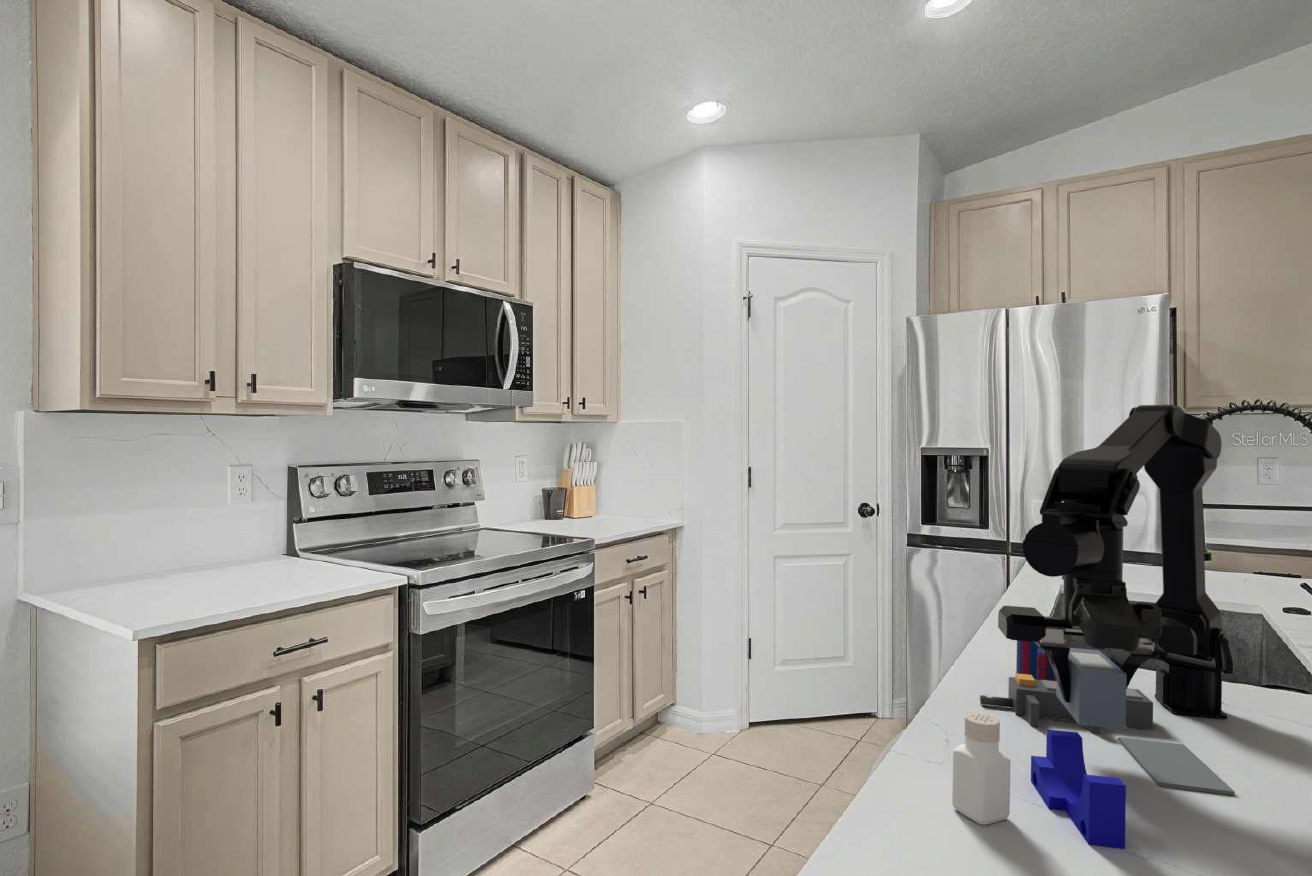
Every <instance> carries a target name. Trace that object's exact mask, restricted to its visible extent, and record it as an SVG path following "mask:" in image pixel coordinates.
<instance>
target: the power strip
mask: <svg viewBox="0 0 1312 876" xmlns="http://www.w3.org/2000/svg"><path fill="white" fill-rule="evenodd" d="M1014 675H1015V676H1014V677H1013V676H1009V677H1008V692H1007V693H1008V697H1001V696H992V695H980V696H979V702H980V705H985V706H992V707H993V706H995V707H1003V708H1004V707H1005V708H1011V709H1012V710H1013V712H1014V714H1015V715H1016V716H1024V718H1025V719H1026V721H1027V722H1028V724H1029V726H1030V727H1037V728H1039V727H1040V718H1041V719H1051V720H1060V721H1070V722H1076V720H1075V719H1074V718H1073V716H1072V715H1071V714H1070V713H1069V711H1068V710H1067V709H1066V708H1065V706H1064V705H1063V704H1062V703H1061V701H1060V700H1059V699H1058V697H1057V696H1056V684H1057V681H1048V680H1036V679H1034V678H1033V677H1032V675H1027V674H1017V673H1016V672H1015V673H1014ZM1153 724H1154V702H1153V701H1152V700H1151V699H1150V698H1149V697H1148V696H1147V695H1145V694H1144V693H1143V692H1142V691H1141V690H1140V689H1138V688H1130V687H1129V688H1128V687H1127V689H1126V728H1133V729H1142V730H1150V731H1151V730H1154V728H1153V727H1154V725H1153ZM1085 727H1086V728H1087V729H1088V731H1090V733H1091V734H1099V735H1101V727H1097V726H1088V725H1085Z"/></svg>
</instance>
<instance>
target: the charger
mask: <svg viewBox="0 0 1312 876" xmlns="http://www.w3.org/2000/svg"><path fill="white" fill-rule="evenodd" d="M1069 648H1070V652H1069V656H1068V665H1069V677H1070V688H1071V692H1070V702H1069V703H1067V702H1065V701H1064V699H1063V696H1062V693H1061V691H1060V688H1059V685H1058V682H1057V684H1056V696H1057V697H1058V699H1059V700H1060V701H1061V703H1062V704H1063V705H1064V706H1065V708H1066V709H1067V710H1068V711H1069V713H1070V714H1071V715H1072V716H1073V718H1074V719H1075V720H1076V721H1075V722H1076V724H1078V725H1079V726H1086V725H1088V726H1097V727H1100V728H1107V729H1117V730H1126V728H1127V727H1126V678H1127V674H1126V673H1125V672H1123V671H1122V670H1121V669H1120V668H1119V667H1118V666H1116V665H1115V664H1114V663H1113V662H1112V661H1111V658H1110V659H1109V658H1108V657H1107V656H1106V655H1105V654H1104V653H1103V652H1101V651H1100V649H1098V650H1097V649H1090V648H1089V649H1087V648H1078V647H1077V648H1076V647H1069Z"/></svg>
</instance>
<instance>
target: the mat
mask: <svg viewBox="0 0 1312 876" xmlns="http://www.w3.org/2000/svg"><path fill="white" fill-rule="evenodd" d="M1117 740H1118V742H1119V743H1120V744H1121V745H1122V746H1123V747H1124V748H1125V749H1124V750H1125V751H1127V752H1128V753H1129V755H1130V756H1131V757H1132V758H1133V760H1135V761H1136V763H1137V764H1138V765H1139V766H1140V767H1141V768H1142V769H1143V771H1144V772H1145V773H1146V774H1147V775H1148V776H1149V777H1150V778H1151V780H1153V782H1154V783H1155V784H1156V785H1157V786H1158V787H1165V788H1166V787H1167V788H1173V789H1181V790H1187V791H1188V790H1190V791H1196V792H1203V793H1211V794H1220V795H1228V796H1229V795H1230V796H1235V793H1236V792H1235V790H1234V789H1232V788H1231V787H1230V785H1228V784H1227V783H1226V782H1225V781H1224V780H1223V779H1221V777H1220V776H1218V774H1217V773H1215V772H1214V771H1213V770H1212V769H1211V768H1210V767H1209V766H1208V765H1207V764H1206V763H1204V762H1203V761H1202V760H1201V759H1200V758H1199V757H1198V756H1197V755H1196V754H1195V753H1194V752H1193V751H1192V750H1190V749H1189V748H1188V747H1187V746H1186V745H1185V744H1184V743H1176V742H1175V743H1174V742H1169V741H1168V742H1166V741H1159V740H1148V739H1140V738H1131V737H1121V736H1118V737H1117Z"/></svg>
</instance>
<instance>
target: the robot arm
mask: <svg viewBox="0 0 1312 876" xmlns="http://www.w3.org/2000/svg"><path fill="white" fill-rule="evenodd" d="M1221 438H1222V437H1221V434H1220V433H1219V431H1218V430H1217V429H1216V428H1215V427H1214V426H1213V424H1212V423H1211V422H1210V421H1208V420H1205V419H1203V418H1200V417H1198V416H1196V415H1195V416H1194V415H1191V414H1190V413H1187V412H1185V411H1184V410H1183V409H1182V407H1180V406H1176V405H1173V404H1145V405H1144V404H1140V405H1138V406H1137V407H1136V406H1134V407H1132V408H1131V410H1130V411H1129V414H1128V417H1127V418H1126V419H1125V420H1124V421H1123V422H1122V423H1121V424H1120V425H1119V426H1118V427H1117V428H1116V429H1115V430H1114V431H1113V432H1112V433H1111V434H1109V435H1108V436H1107V437H1106V438H1105V440H1103V442H1101V443H1100V444H1099V445H1098V446H1096V447H1094V448H1090V449H1085V450H1080V451H1076V452H1074V453H1072V454H1070V455H1068V456H1067V457H1065V458H1063V459H1062V460H1061V462H1060V463H1059V464H1058V466H1057V467H1056V468H1055V470H1054V472H1053V474H1052V478H1051V480H1050V483H1049V484H1048V487H1047V490H1046V493H1045V496H1044V498H1043V501H1042V504H1041V506H1040V509H1039V514H1040V516H1041V523H1037V524H1036V525H1033V526H1032V528H1030V529H1029V530H1028V531H1027V533H1026V534H1025V537H1024V540H1023V541H1022V554H1023V556H1024V558H1025V561H1026V562H1027V564H1028V565H1029V566H1030V567H1031V568H1032V569H1033V570H1034V571H1036V572H1037V573H1039V574H1041V575H1043V576H1046V577H1051V578H1053V577H1061V580H1063V600H1062V601H1063V604H1061V606H1060V607H1061V612H1060V613H1061V614H1062V617H1057V616H1055V617H1054V616H1044V615H1043V614H1042V613H1041V612H1039V610H1038V609H1037V608H1036V607H1029V606H1017V605H1003V606H1001V608H1000V609H999V610H998V613H997V614H998V615H997V616H998V617H997V628H998V629H999V630H1000V632H1001V633H1002V634H1003V636H1004V637H1005V638H1006V639H1008V640H1011V641H1017V640H1018V641H1030V642H1035V643H1036V645H1037V646H1038V647H1039V648H1041V649H1044V650H1045V652H1046V654H1047V656H1048V658H1049V661H1050V663H1051V666H1052V668H1053V671H1054V674H1055V677H1056V680H1057V682H1058V685H1059V688H1060V691H1061V693H1062V696H1063V699H1064V701H1065V702H1067V703H1069V702H1070V692H1071V688H1070V677H1069V665H1068V656H1069V652H1070V648H1071V647H1069V646H1068V645H1066V644H1065V643H1064V639H1065V635H1066V636H1077V637H1084V640H1085V643H1086V644H1087V646H1090V647H1091V648H1094V649H1095V650H1097V649H1098V650H1105V649H1111V650H1110V651H1111V653H1110V660H1111V661H1112V662H1113V663H1114V664H1115V665H1116V666H1118V667H1119V668H1120V669H1121V670H1122V671H1123V672H1125V673H1126V674H1127V678H1126V689H1127V688H1128V687H1129V686H1130V682H1131V681H1132V679H1133V677H1134V676H1135V674H1136V672H1137V671H1138V669H1139V668H1140V666H1141V665H1143V664H1144V663H1146V662H1147V661H1148V660H1157V661H1160V663H1159V664H1160V668H1157V669H1156V670H1155V694H1154V699H1156V700H1157V701H1158V702H1159V703H1161V704H1162V705H1163V706H1164V707H1165V708H1166V709H1167V710H1169V711H1170V712H1171V713H1173V714H1179V715H1189V716H1198V717H1208V718H1217V719H1220V718H1221V719H1228V718H1229V716H1228V714H1227V713H1226V712H1225V711H1224V710H1222V705H1223V703H1222V701H1223V700H1222V699H1223V698H1222V697H1223V694H1222V693H1223V675H1225V674H1227V675H1235V668H1236V666H1235V664H1236V661H1235V660H1236V659H1235V658H1236V654H1235V650H1234V648H1233V645H1232V643H1231V641H1230V638H1229V635H1228V633H1227V630H1225V628H1223V621H1222V620H1223V619H1222V612H1221V610H1219V608H1218V607H1217V606H1216V604H1215V603H1214V601H1213V600H1212V598H1210V595H1208V594H1207V591H1206V572H1205V571H1206V568H1205V567H1206V566H1205V563H1206V562H1205V539H1204V538H1205V537H1204V536H1205V535H1204V533H1205V532H1204V530H1205V529H1204V507H1203V506H1204V504H1203V503H1204V501H1203V499H1204V498H1203V487H1204V486H1205V484H1206V483H1207V481H1208V480H1209V479H1210V477H1211V476H1212V475H1213V473H1214V472H1215V471H1216V469H1217V467H1218V458H1220V455H1221V453H1222V439H1221ZM1143 467H1144V469H1143ZM1141 469H1143V470H1144V471H1145V473H1146V474H1147V475H1148V476H1149V478H1150V479H1151V480H1152V482H1153V483H1154V484H1155V485H1156V486H1157V489H1159V510H1160V537H1161V563H1162V564H1161V565H1162V570H1161V571H1162V594H1161V595H1160V597H1159V598H1158V600H1156V602H1155V603H1148V602H1147V603H1146V602H1137V603H1130V601H1129V599H1128V596H1127V595H1128V594H1127V587H1126V586H1127V584H1126V582H1125V581H1123V571H1124V570H1123V568H1124V567H1123V566H1124V557H1123V556H1124V527H1127V526H1128V523H1129V522H1128V520H1127V518H1126V516H1128V514H1129V512H1130V510H1131V508H1132V506H1133V504H1134V502H1135V500H1136V497H1137V494H1138V493H1139V491H1140V487H1141V483H1140V481H1139V479H1138V475H1137V474H1138V472H1139V471H1140V470H1141Z"/></svg>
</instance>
